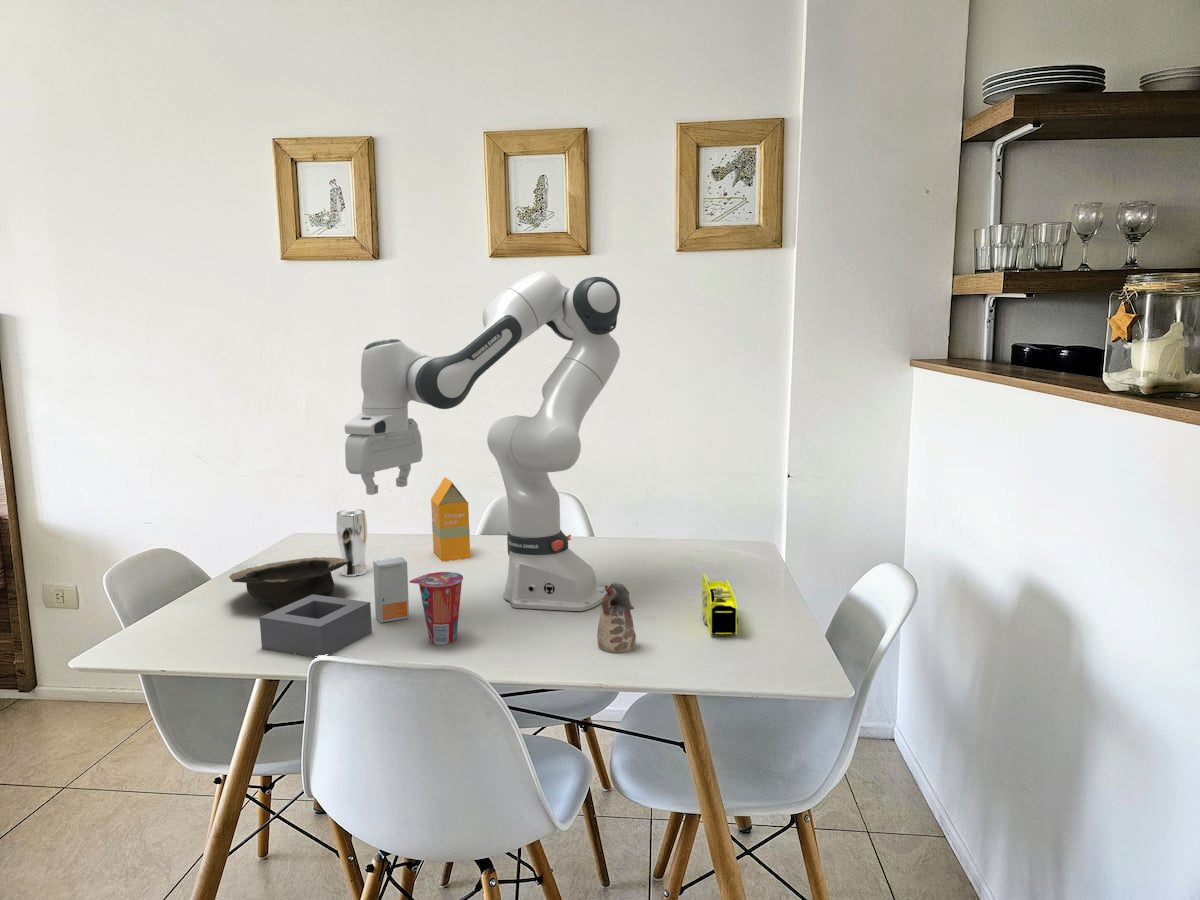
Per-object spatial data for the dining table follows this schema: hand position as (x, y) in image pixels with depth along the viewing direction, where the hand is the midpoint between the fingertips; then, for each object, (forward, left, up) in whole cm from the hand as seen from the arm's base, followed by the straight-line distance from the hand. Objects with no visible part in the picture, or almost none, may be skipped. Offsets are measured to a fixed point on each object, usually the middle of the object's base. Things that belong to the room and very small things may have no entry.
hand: (387, 490), depth 167 cm
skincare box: (-1, +2, -26) cm, 26 cm away
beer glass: (+27, -21, -26) cm, 43 cm away
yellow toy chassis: (-64, -18, -26) cm, 71 cm away
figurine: (-49, 0, -26) cm, 56 cm away
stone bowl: (+28, -1, -26) cm, 38 cm away
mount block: (+5, +17, -26) cm, 31 cm away
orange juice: (+13, -42, -26) cm, 51 cm away
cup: (-17, +9, -26) cm, 33 cm away
